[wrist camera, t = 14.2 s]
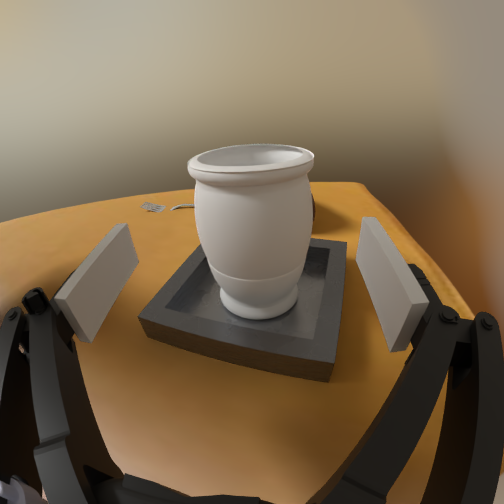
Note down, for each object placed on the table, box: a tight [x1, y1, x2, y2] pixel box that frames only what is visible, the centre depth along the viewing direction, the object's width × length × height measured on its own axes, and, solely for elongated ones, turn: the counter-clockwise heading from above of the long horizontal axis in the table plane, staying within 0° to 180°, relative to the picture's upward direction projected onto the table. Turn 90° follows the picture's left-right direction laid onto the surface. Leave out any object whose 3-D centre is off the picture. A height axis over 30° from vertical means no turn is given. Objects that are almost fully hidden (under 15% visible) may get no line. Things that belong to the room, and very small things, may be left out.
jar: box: [187, 144, 314, 320], centre depth 25 cm, size 11×10×15 cm
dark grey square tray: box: [138, 238, 347, 382], centre depth 29 cm, size 18×18×3 cm
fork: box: [140, 202, 195, 212], centre depth 53 cm, size 3×24×2 cm, turn 81°
